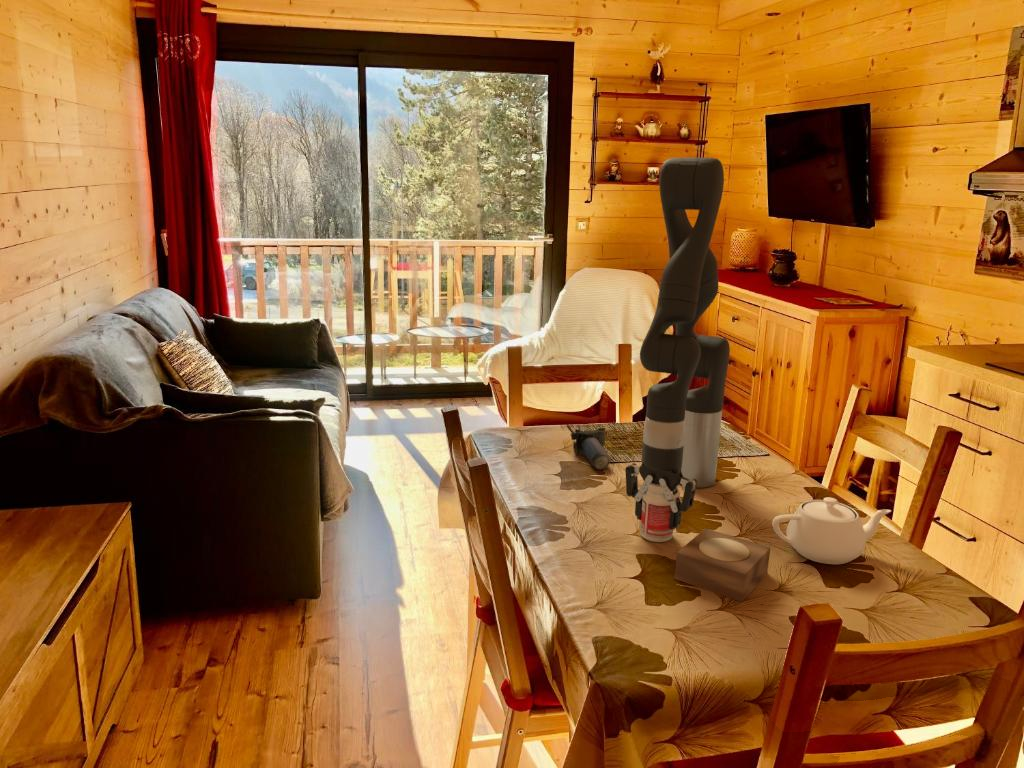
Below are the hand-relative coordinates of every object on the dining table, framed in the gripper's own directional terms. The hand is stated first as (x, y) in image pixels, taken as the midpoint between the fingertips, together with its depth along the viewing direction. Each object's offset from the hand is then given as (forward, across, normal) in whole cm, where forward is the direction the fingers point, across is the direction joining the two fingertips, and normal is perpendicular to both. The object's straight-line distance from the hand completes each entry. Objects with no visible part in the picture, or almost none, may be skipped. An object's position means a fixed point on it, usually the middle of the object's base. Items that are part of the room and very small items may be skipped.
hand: (656, 523), depth 154 cm
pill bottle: (+3, 0, 0) cm, 3 cm away
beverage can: (+3, +30, -27) cm, 40 cm away
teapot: (+3, -28, -14) cm, 31 cm away
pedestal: (+3, -16, +7) cm, 18 cm away
